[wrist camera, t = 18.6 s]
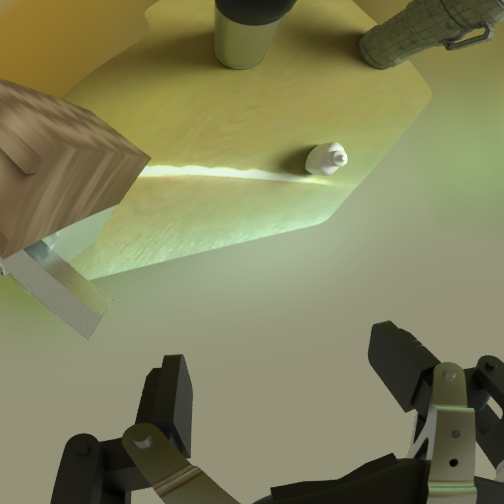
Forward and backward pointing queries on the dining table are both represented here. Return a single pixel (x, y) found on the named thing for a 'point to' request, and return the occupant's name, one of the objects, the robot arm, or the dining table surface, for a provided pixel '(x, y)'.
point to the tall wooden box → (56, 166)
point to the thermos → (429, 29)
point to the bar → (59, 287)
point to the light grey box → (78, 235)
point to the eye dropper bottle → (325, 159)
